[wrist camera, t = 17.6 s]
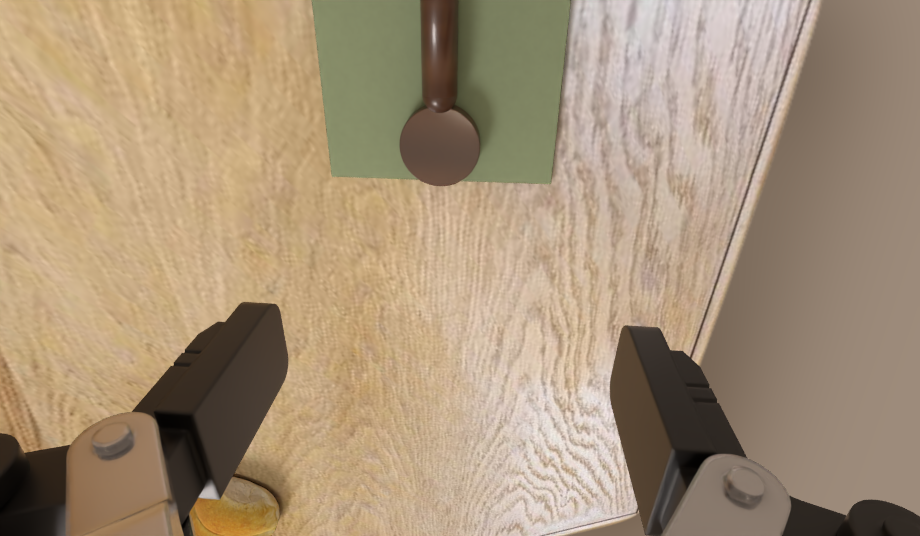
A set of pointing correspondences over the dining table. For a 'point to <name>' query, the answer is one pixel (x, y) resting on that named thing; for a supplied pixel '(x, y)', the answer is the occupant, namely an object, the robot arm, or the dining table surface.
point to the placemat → (478, 88)
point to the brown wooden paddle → (440, 105)
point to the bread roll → (237, 512)
